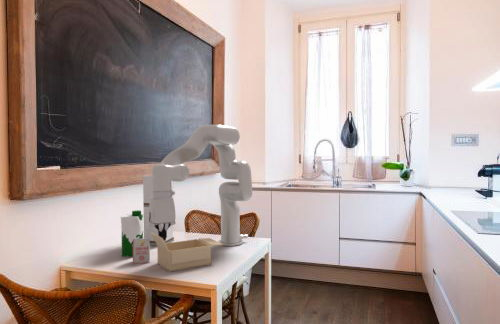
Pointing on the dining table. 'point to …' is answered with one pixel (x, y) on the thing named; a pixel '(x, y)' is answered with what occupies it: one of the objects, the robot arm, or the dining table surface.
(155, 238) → the flap
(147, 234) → the white banded tower
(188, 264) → the carton
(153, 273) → the dining table surface
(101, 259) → the dining table surface
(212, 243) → the flap
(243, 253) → the dining table surface
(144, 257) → the white red printed box
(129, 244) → the milk carton
